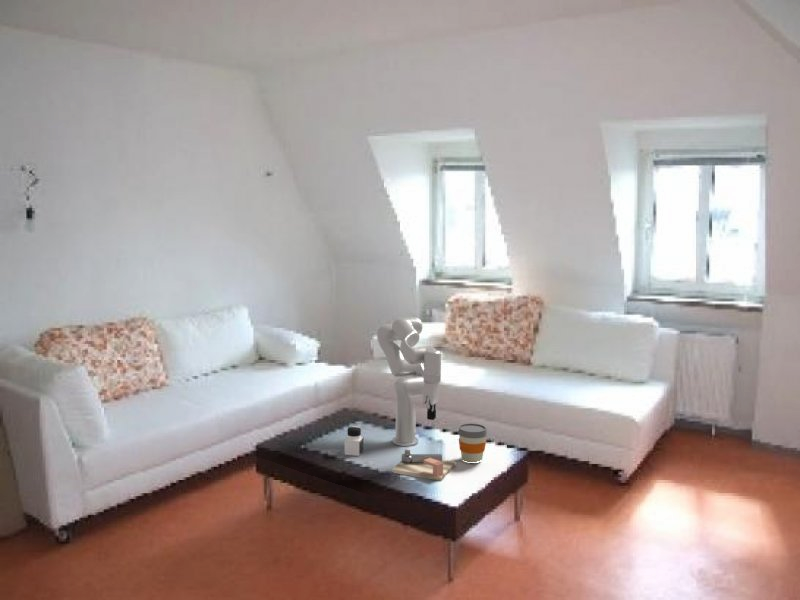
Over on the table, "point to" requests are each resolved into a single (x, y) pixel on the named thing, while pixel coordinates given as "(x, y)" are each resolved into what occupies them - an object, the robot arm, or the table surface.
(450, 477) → the table surface
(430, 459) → the keeper
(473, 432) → the reusable coffee cup
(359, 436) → the medicine bottle
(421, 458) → the steel link
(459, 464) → the table surface
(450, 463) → the birch board
